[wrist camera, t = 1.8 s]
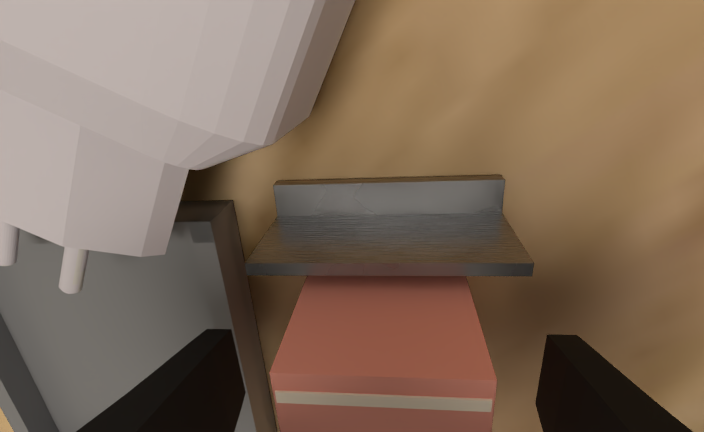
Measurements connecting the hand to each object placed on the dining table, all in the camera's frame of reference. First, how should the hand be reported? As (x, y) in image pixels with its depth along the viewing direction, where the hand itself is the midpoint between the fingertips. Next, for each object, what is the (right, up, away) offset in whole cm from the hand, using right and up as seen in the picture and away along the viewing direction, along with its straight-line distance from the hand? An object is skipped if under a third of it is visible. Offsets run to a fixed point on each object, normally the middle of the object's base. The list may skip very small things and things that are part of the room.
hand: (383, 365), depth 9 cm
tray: (-8, -1, +5) cm, 10 cm away
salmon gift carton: (0, +1, +3) cm, 3 cm away
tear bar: (0, +4, +2) cm, 4 cm away
